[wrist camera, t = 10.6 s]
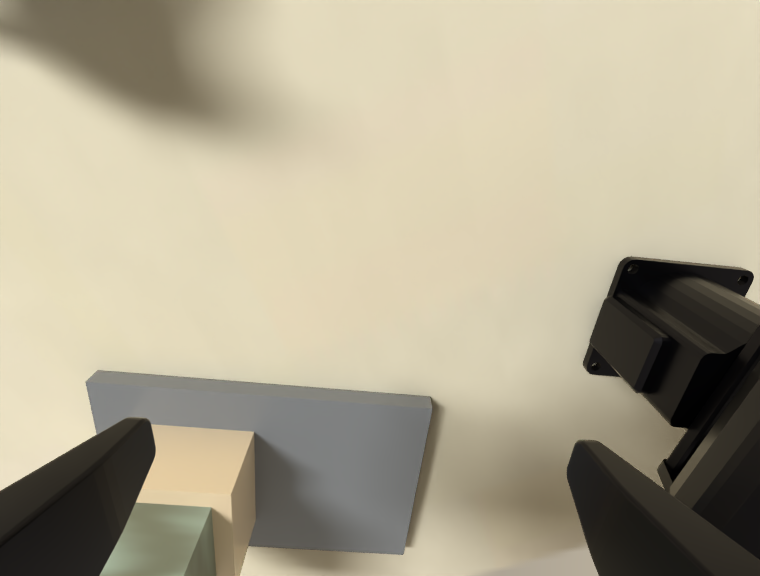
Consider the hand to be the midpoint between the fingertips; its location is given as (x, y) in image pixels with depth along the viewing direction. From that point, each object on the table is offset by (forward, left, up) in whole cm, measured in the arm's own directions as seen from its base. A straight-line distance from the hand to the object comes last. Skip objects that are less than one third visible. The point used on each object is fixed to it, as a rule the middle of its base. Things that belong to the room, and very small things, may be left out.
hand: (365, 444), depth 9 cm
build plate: (+5, +14, -12) cm, 19 cm away
